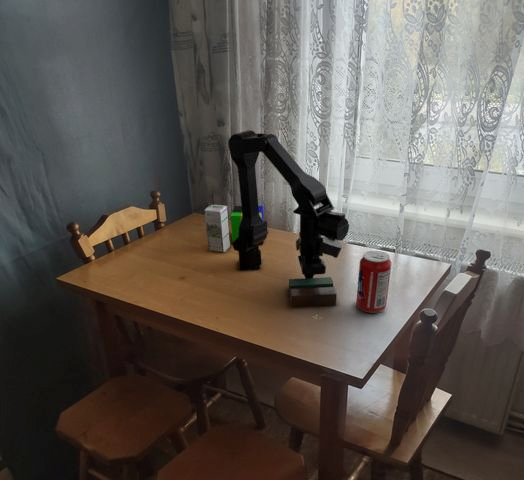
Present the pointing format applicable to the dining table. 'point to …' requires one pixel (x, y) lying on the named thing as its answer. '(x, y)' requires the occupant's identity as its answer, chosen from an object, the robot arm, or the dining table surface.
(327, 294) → the walnut bar
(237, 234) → the puzzle toy
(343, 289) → the dining table surface
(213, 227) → the syrup box
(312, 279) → the green bar
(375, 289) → the soda can
